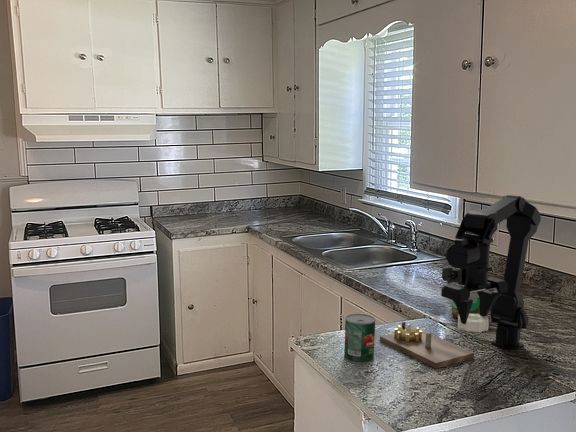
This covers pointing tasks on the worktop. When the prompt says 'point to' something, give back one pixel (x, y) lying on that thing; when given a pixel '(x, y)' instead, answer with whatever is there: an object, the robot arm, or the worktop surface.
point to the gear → (407, 333)
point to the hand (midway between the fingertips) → (472, 321)
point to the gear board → (430, 350)
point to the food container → (473, 308)
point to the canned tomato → (359, 338)
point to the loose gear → (474, 323)
